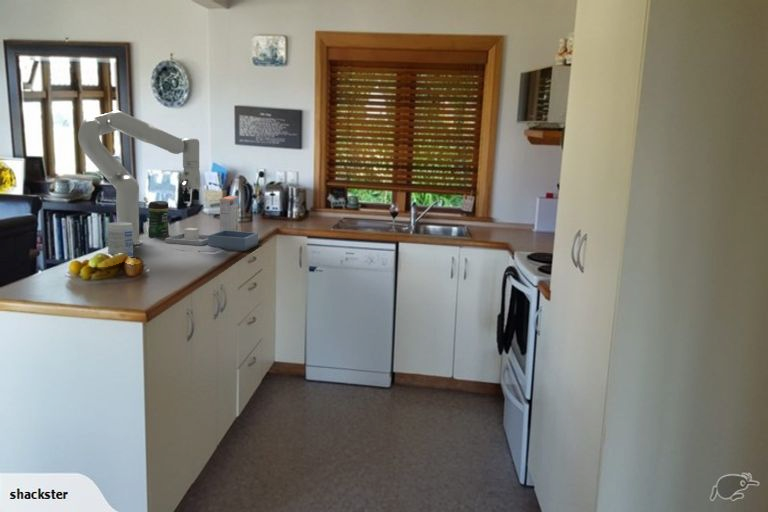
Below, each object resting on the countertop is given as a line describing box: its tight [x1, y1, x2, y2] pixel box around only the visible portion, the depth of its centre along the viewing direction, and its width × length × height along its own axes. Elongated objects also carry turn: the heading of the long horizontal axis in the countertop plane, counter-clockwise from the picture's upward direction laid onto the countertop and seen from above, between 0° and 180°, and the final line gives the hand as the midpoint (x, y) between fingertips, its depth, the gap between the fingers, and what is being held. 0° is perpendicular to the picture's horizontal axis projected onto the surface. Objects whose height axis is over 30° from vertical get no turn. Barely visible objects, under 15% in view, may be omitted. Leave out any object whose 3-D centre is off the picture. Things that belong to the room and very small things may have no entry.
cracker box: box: [219, 195, 239, 231], centre depth 317 cm, size 14×6×21 cm, turn 177°
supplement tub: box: [107, 221, 134, 257], centre depth 251 cm, size 10×10×15 cm
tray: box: [164, 232, 209, 247], centre depth 295 cm, size 18×18×3 cm
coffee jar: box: [147, 200, 170, 239], centre depth 303 cm, size 10×8×19 cm
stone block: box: [183, 227, 200, 241], centre depth 295 cm, size 5×5×6 cm
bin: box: [207, 230, 259, 252], centre depth 293 cm, size 18×18×6 cm
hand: (191, 200), depth 293 cm, fingers open, 9 cm apart
